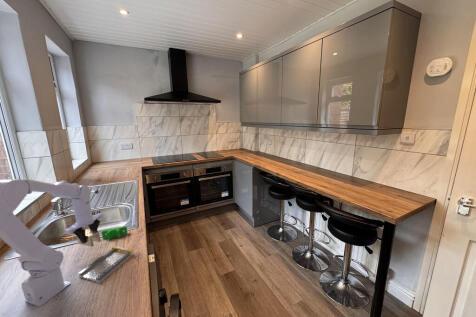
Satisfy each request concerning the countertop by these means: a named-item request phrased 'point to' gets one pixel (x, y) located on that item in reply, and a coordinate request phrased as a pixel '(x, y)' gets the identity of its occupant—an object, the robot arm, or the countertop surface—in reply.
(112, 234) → the pipe clamp
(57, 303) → the countertop surface
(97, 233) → the tan notched block
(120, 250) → the silver channel bracket
